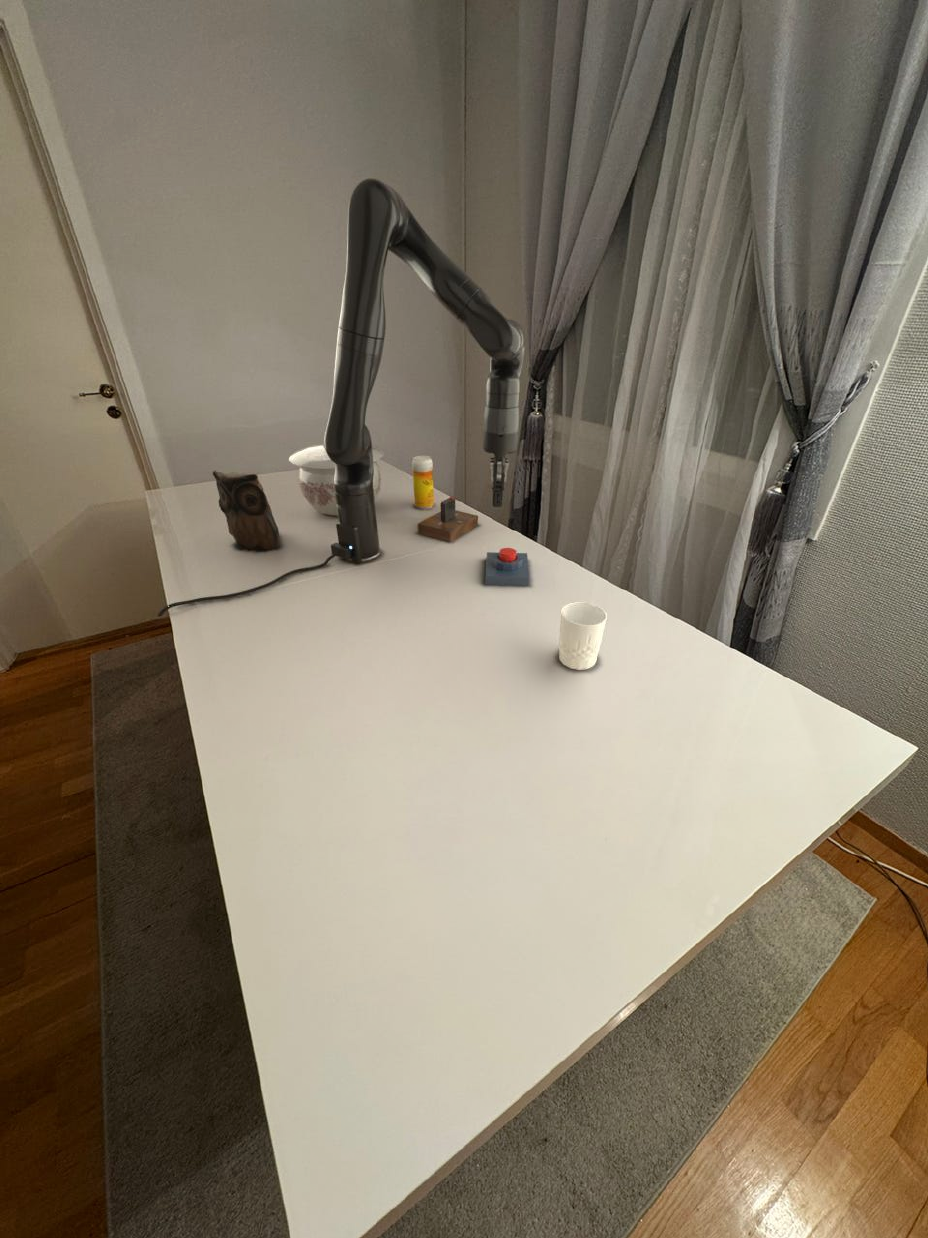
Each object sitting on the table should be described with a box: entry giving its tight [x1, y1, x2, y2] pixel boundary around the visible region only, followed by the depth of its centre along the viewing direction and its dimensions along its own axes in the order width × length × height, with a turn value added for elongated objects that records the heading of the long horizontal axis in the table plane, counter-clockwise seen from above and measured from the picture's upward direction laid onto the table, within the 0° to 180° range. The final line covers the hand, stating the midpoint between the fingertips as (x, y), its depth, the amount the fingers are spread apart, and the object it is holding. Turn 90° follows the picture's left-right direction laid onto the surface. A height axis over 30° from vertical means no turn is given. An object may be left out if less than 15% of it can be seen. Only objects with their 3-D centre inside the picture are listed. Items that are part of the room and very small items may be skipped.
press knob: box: [498, 547, 517, 562], centre depth 123 cm, size 4×4×2 cm
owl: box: [212, 470, 281, 553], centre depth 134 cm, size 13×13×20 cm
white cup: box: [558, 601, 608, 671], centre depth 93 cm, size 8×8×10 cm
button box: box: [484, 551, 530, 587], centre depth 124 cm, size 13×10×4 cm
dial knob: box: [440, 496, 456, 522], centre depth 144 cm, size 5×2×6 cm, turn 146°
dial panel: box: [417, 509, 479, 543], centre depth 147 cm, size 14×11×3 cm
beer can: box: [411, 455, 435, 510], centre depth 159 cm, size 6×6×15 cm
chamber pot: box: [288, 443, 385, 517], centre depth 156 cm, size 28×28×21 cm
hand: (497, 505), depth 120 cm, fingers closed
